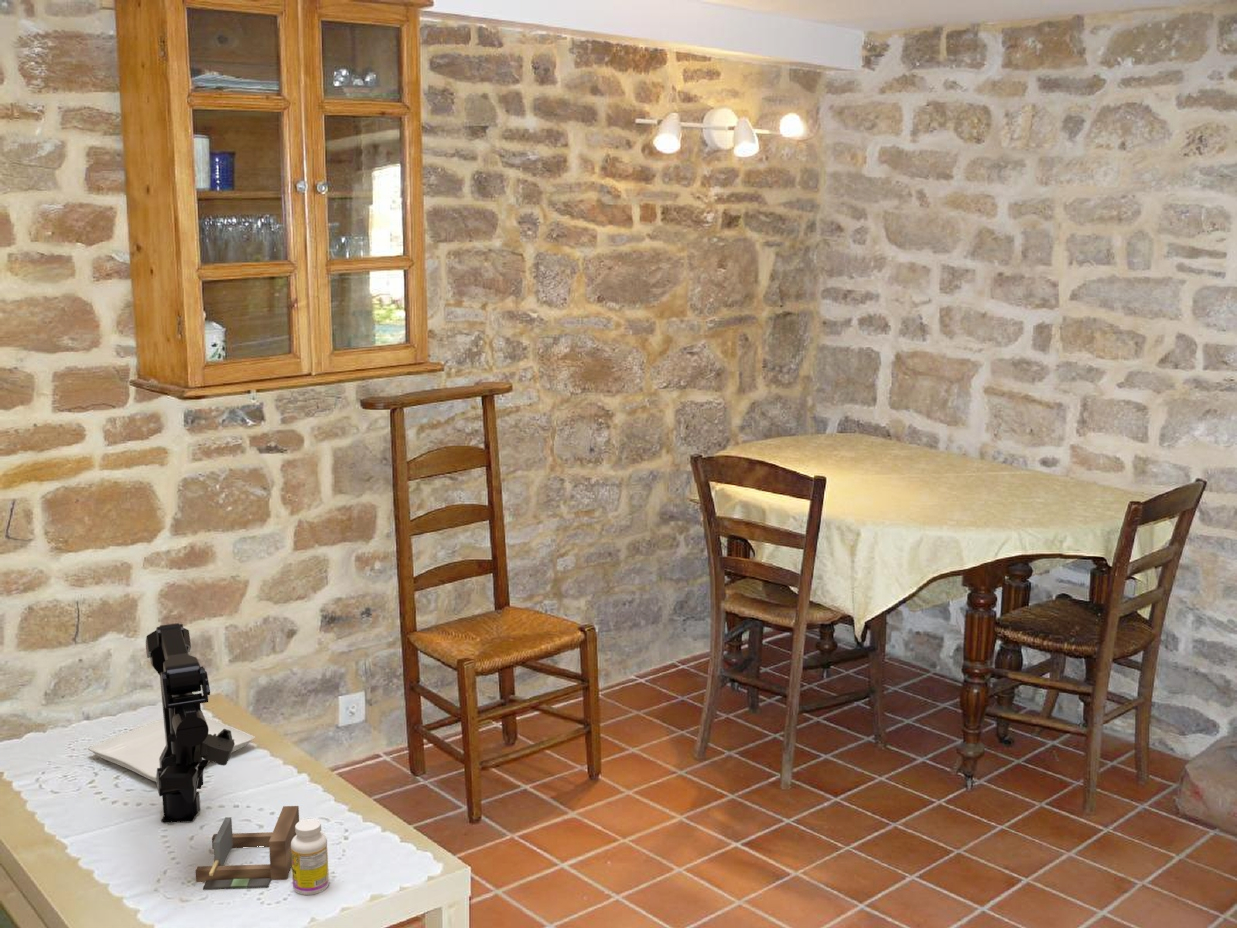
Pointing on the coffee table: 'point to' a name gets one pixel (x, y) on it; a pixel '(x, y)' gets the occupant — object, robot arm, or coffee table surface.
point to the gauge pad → (222, 844)
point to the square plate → (153, 746)
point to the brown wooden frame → (256, 873)
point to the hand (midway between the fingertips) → (191, 801)
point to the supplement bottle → (309, 858)
